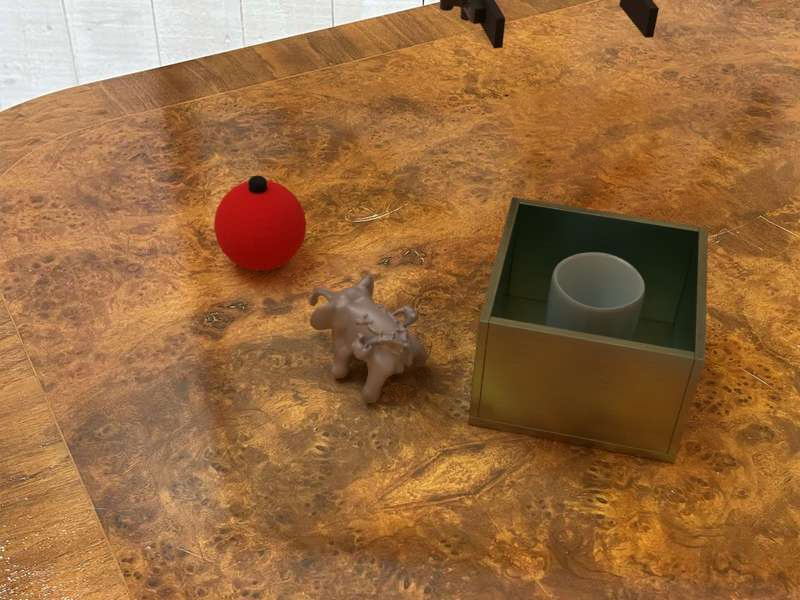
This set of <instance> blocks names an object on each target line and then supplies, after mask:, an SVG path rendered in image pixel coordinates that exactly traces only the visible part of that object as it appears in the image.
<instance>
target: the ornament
mask: <svg viewBox="0 0 800 600" xmlns="http://www.w3.org/2000/svg"><path fill="white" fill-rule="evenodd" d="M213 225H214V227H213V229H214V233H215V239H216V242H217V243H218V246H219V248H220V249H221V251H222V253H223V254H224V255H225V256H226V257H227V258H228V259H229V260H230V261H231V262H233V263H234V264H236V265H237V266H239V267H241V268H244V269H246V270H250V271H257V272H258V271H259V272H265V271H271V270H274V269H275V270H276V269H277V268H279V267H282V266H284V265H285V264H287V263H288V262H290V261H291V260H292V259H293V258H294V257H295V256H296V254H298V252H299V250H300V249H301V247H302V246H303V243H304V240H305V236H306V230H307V220H306V214H305V211H304V208H303V206H302V204H301V202H300V201H299V199H298V198H297V197H296V195H295V194H294V192H292V191H291V190H290V189H288V188H287V187H286V186H285V185H282V184H280V183H278V182H275V181H273V180H270V179H269V180H268V179H267V178H265V177H264V176H262V175H253V176H251V177H250V178H249V179H248V180H246V181H244V182H241V183H239V184H238V185H235V186H233V187H232V188H231V189H230V190H229V191H228V192H226V194H225V195H224V196H223V197H222V199H221V201H220V202H219V204H218V206H217V209H216V211H215V215H214V224H213Z"/></svg>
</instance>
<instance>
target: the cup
mask: <svg viewBox="0 0 800 600" xmlns="http://www.w3.org/2000/svg"><path fill="white" fill-rule="evenodd" d="M644 296H645V284H644V281H643V279H642V277H641V275H640V274H639V273H638V271H637V270H636V269H635V268H634V267H633V266H632V265H630V264H629V263H627V262H626V261H624V260H623V259H621V258H618V257H616V256H613V255H610V254H606V253H598V252H589V253H581V254H576V255H573V256H570V257H568V258H566V259H564V260H563V261H561V262H560V263H559V264H558V265H557V266H556V268H555V269H554V271H553V274H552V279H551V283H550V289H549V295H548V301H547V308H546V315H545V326H549V327H554V328H560V329H566V330H572V331H577V332H583V333H589V334H594V335H600V336H606V337H612V338H617V339H623V340H629V341H634V338H635V334H636V331H637V327H638V323H639V319H640V315H641V311H642V307H643V302H644Z"/></svg>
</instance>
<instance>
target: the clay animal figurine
mask: <svg viewBox="0 0 800 600" xmlns="http://www.w3.org/2000/svg"><path fill="white" fill-rule="evenodd" d="M374 288H375V282H374V278H373V276H372V274H371V273H368V275H367V276H366V277H364V278H362V279H361V280H360V281H358V282H357V284H356V285H354V286H348V287H345V288H342V289H340V290H338V291H333V290H330V289H328V288H325V287H323V286H320V285H317V286H316V287H315V288H314V289H313V291H312V294H311V295H310V296H309V299H308V304H309V305H310V306H311V307H315V306H317V304H318V303H319V297H321V296H322V297H323V298H325V299H326V300H327V303H326V304H323V305H320V306H318V307H317V308H315V309H314V311H313V312H312V313H311V315H310V318H309V325H310V326H311V328H312V329H314V330H315V331H326V330H330V329H331V340H332V341H331V343H332V357H333V361H332V365H331V367H330V374H331V376H332V377H333V378H334V379H344V378H345V377H347V376H348V374H349V371H350V368H351V365H352V363H353V361H354V360H355V358H356V359H357V360H360V361H363V362H365V363H366V366H367V377H366V381H365V384H364V386H363V388H362V391H361V397H362V399H363V400H364V401H365V402H366V403H368V404H375V403H376V402H378V401H379V398H380V396H381V395H380V394H381V390H382V388H383V387H384V384H385V382H386V381H387V379H388V378H389V377H391V376H392V375H395V374H397V375H398V374H403V373H404V371H405V367H407V368H410V367H412V365H414V366H415V367H418V368H421V367H424V366H425V365H426V363H427V358H428V352H427V349H426V348H425V346H424V345H423V344H422V343H421V342H420V341H419V340H418V339H417V338H416V337H414V336H413V335H412V334H411V333H409V332H408V327H409V326H412V325H413V324H415V323H416V322H417V321H418V320H419V313H418V312H417V311H416V310H415V309H414V308H413V307H411V306H410V305H404V306H402V307H400V308H398V309H396V310H395V311H394V312H390V311H389V310H387V308H386V307H384V306H383V305H382V304H378V303H376V302H375V300H374V298H373V294H374V290H375V289H374ZM400 314H402V315H404V320H403V322H402V321H401V320H398V319H397V318H396V317H397V316H398V315H400Z"/></svg>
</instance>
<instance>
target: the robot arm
mask: <svg viewBox="0 0 800 600" xmlns="http://www.w3.org/2000/svg"><path fill="white" fill-rule="evenodd" d="M618 5H619V7H620V8H621V9H622V11H623V12H624V13H625V15H626V16H627V17H628V19H629V20H630V21H631V22H632V23H633V24H634V26H635V27H636V28H637V30H638V31H639V32H640V34H641V35H642V36H643V37H644V38H645V39H649V38H654V36H655V30H656V25H657V21H658V16H659V10H660V8H659V6H658V5H657V4H656V3H655V2H654V0H619V4H618ZM454 7H458V8H460V11H459V12H460V14H459V19H460V20H462V21H464V22H465V21H466V22H470V23H472V24H473V25H480V26H481V28H482V29H483V32H484V33H485V35H486V37H487V39H488V40H489V42H490V44H491V46H492V47H493V49H503V48H504V47H503V46H504V37H505V36H504V35H505V26H506V17H505V14H504V13H503V12H502V10H501V9H500V6H499V5H498V3H497V1H496V0H439V9H440V10H441V11H445V12H449V11H452V10H453V9H454Z"/></svg>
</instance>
